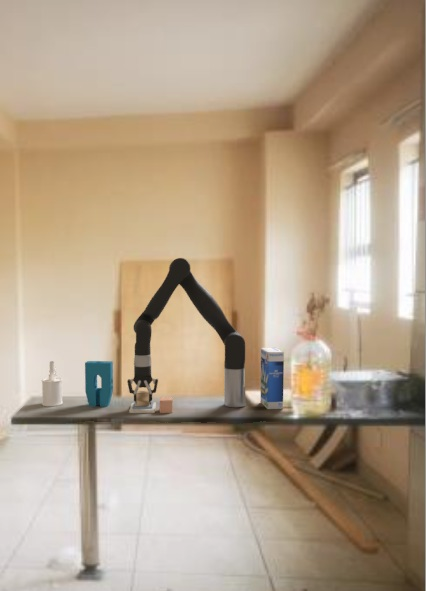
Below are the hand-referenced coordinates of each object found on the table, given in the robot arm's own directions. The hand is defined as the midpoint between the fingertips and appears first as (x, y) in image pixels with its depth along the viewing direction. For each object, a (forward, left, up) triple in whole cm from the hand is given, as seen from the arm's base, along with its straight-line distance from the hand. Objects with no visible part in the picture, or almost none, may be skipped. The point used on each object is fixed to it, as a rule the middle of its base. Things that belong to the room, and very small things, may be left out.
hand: (143, 402), depth 233 cm
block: (+21, -8, -3) cm, 22 cm away
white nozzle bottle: (+43, -11, -3) cm, 44 cm away
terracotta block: (-10, +4, -3) cm, 12 cm away
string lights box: (-58, -2, -3) cm, 59 cm away
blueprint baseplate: (0, 0, -3) cm, 3 cm away
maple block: (0, 0, -1) cm, 1 cm away
